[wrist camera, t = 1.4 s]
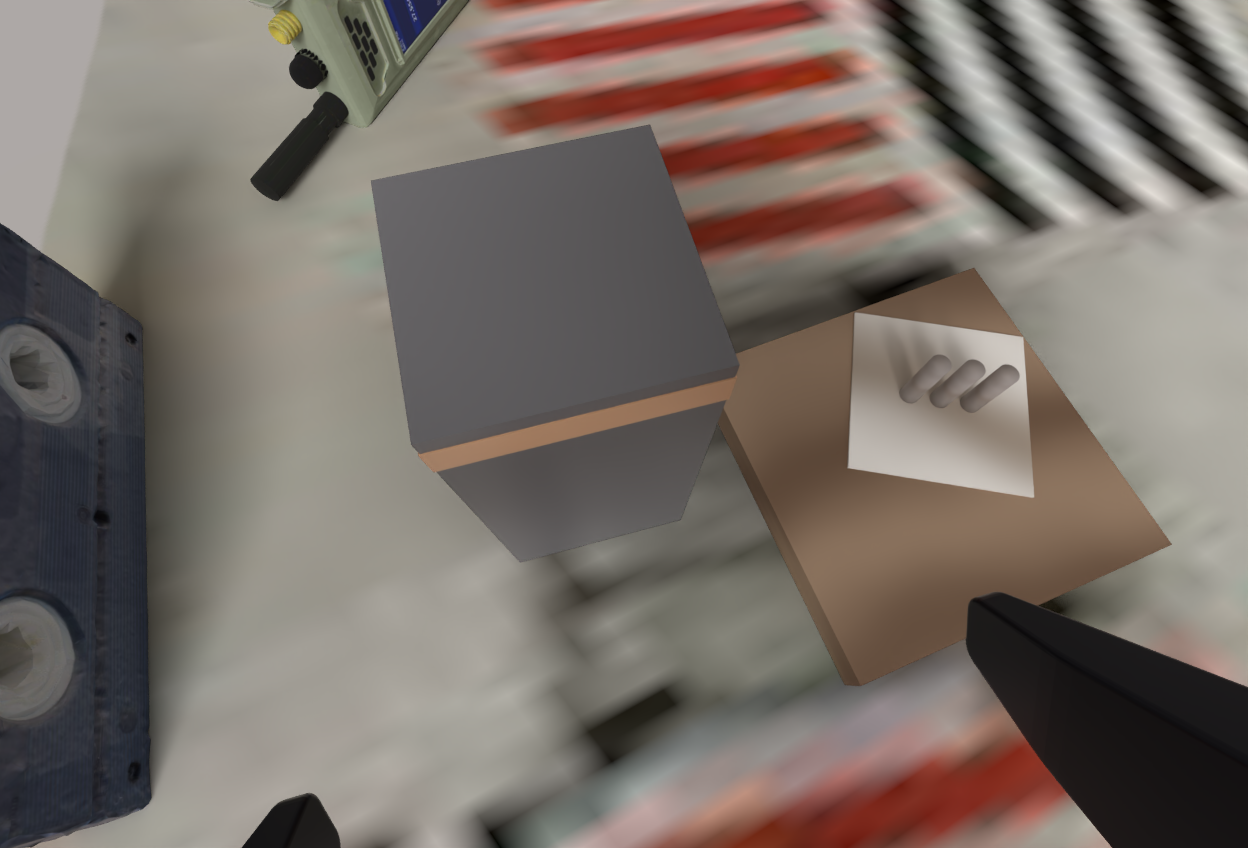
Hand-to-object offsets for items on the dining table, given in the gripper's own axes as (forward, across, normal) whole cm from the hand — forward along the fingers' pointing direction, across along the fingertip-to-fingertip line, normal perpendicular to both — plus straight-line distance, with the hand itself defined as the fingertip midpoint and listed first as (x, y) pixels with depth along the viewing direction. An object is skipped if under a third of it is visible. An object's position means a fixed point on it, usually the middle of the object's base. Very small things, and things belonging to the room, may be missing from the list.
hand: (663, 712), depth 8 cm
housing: (+15, 0, +4) cm, 16 cm away
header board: (+13, -12, +6) cm, 19 cm away
